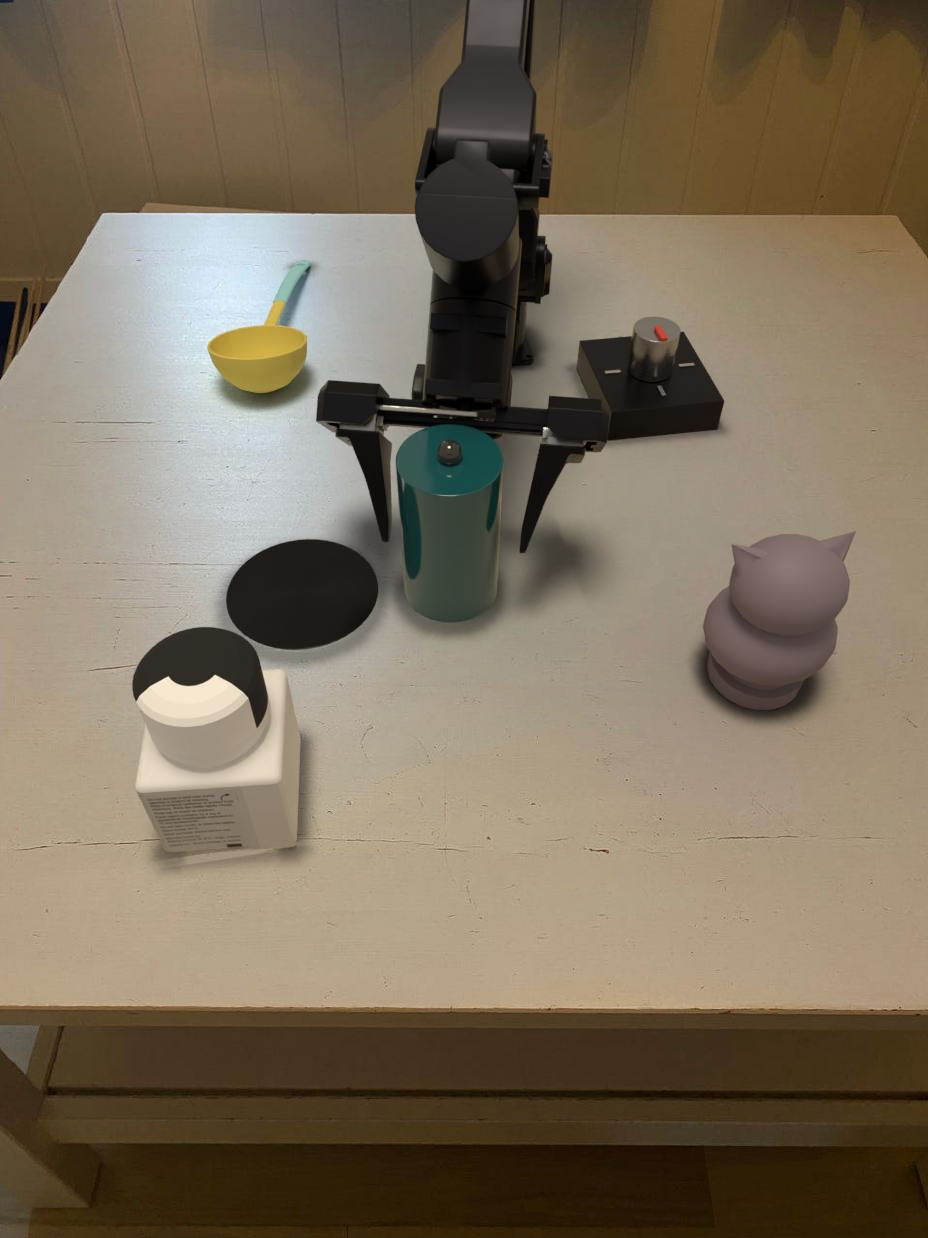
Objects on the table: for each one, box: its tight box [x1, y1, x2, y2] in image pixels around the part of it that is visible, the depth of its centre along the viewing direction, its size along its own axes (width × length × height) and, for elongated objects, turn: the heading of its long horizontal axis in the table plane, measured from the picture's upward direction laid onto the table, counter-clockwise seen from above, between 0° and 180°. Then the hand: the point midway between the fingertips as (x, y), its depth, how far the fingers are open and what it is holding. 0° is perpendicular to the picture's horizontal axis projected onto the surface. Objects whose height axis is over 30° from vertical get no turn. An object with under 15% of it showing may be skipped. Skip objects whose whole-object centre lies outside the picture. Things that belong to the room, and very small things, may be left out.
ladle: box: [206, 259, 312, 394], centre depth 92 cm, size 9×26×6 cm, turn 177°
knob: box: [627, 316, 681, 382], centre depth 82 cm, size 4×4×4 cm
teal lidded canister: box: [395, 424, 505, 623], centre depth 64 cm, size 7×7×14 cm
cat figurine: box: [702, 530, 857, 711], centre depth 60 cm, size 8×8×12 cm
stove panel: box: [576, 331, 725, 441], centre depth 85 cm, size 11×10×3 cm
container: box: [131, 626, 301, 854], centre depth 53 cm, size 8×8×13 cm
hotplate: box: [225, 538, 379, 651], centre depth 69 cm, size 11×11×1 cm
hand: (453, 547), depth 63 cm, fingers open, 9 cm apart
